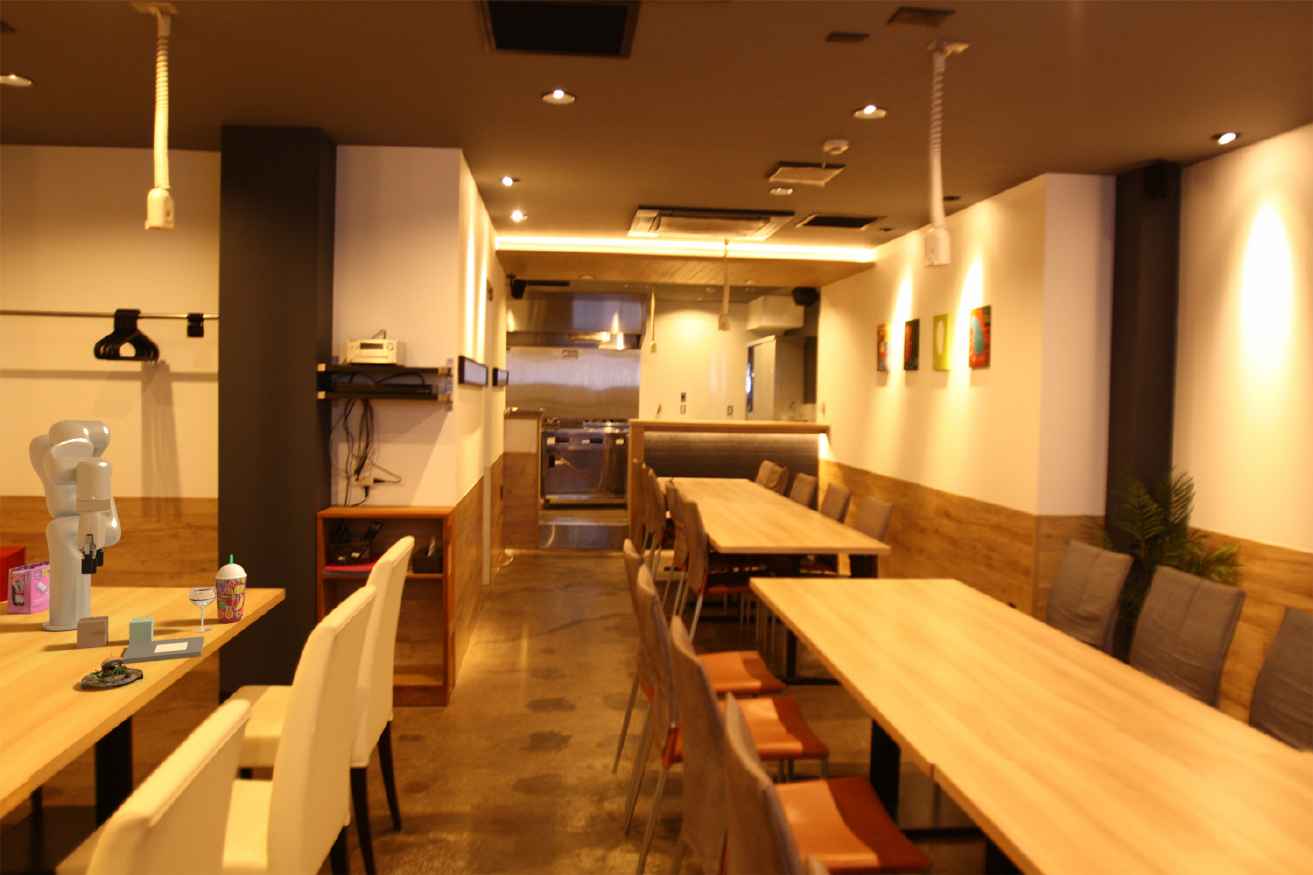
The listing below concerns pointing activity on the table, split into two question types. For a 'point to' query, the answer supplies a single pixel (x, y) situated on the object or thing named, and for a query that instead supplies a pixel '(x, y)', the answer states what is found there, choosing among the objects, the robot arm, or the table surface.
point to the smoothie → (230, 592)
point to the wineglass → (202, 601)
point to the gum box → (29, 588)
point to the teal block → (141, 629)
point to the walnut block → (92, 632)
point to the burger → (111, 674)
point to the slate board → (163, 649)
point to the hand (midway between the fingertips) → (92, 570)
